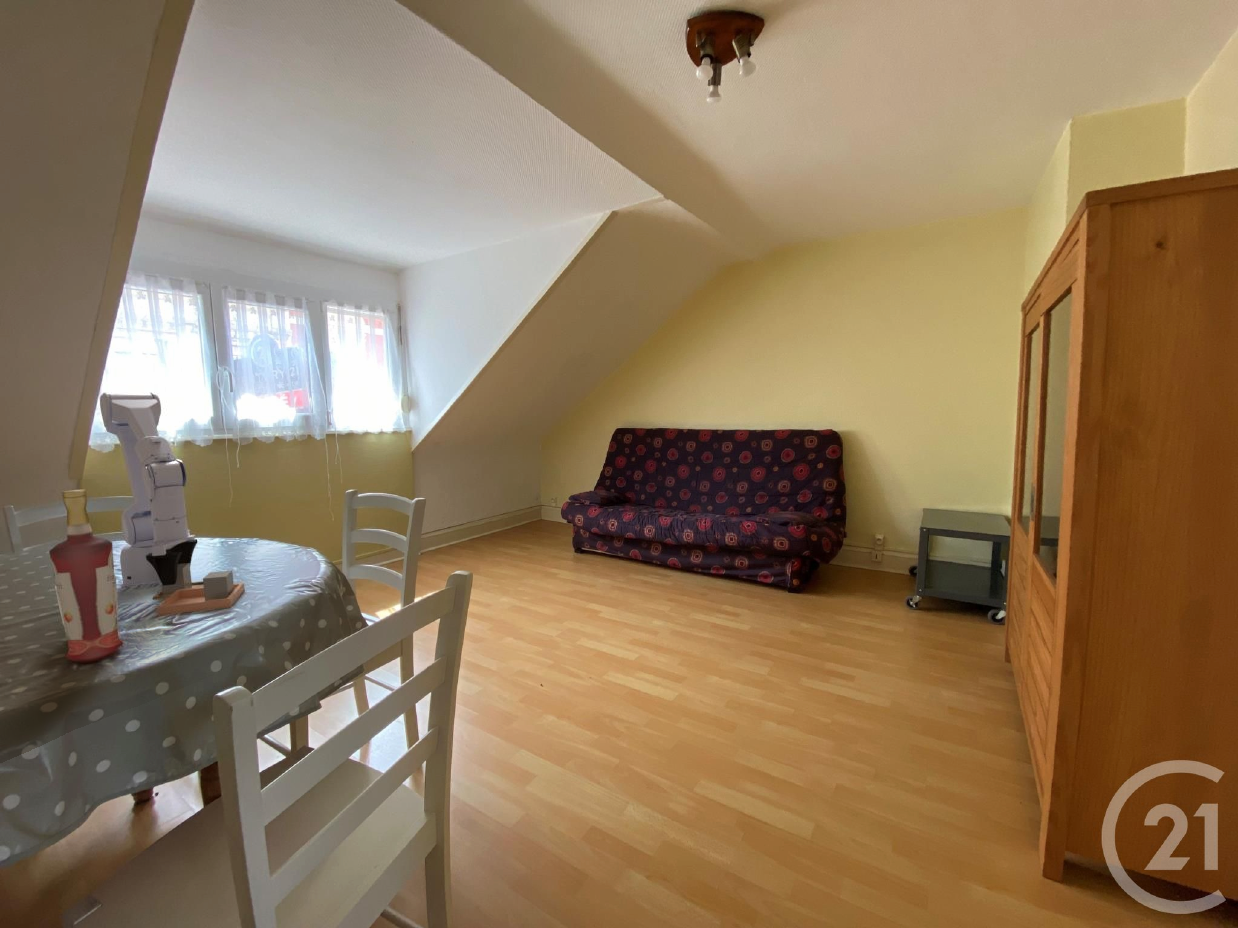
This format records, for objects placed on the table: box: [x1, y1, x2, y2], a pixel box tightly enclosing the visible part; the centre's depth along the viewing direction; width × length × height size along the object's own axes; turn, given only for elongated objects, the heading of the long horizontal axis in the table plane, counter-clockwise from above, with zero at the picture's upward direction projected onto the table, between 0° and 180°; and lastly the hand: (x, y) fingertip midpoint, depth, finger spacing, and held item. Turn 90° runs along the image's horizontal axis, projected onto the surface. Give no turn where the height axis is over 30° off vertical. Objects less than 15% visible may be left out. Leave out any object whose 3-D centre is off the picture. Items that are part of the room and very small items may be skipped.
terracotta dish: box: [156, 582, 246, 617], centre depth 113 cm, size 12×10×2 cm
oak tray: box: [151, 580, 204, 601], centre depth 120 cm, size 12×8×1 cm, turn 111°
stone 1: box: [160, 563, 193, 595], centre depth 119 cm, size 4×4×6 cm
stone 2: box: [202, 570, 235, 601], centre depth 114 cm, size 4×4×6 cm
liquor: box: [48, 489, 124, 664], centre depth 89 cm, size 7×7×28 cm
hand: (176, 578), depth 119 cm, fingers open, 7 cm apart
